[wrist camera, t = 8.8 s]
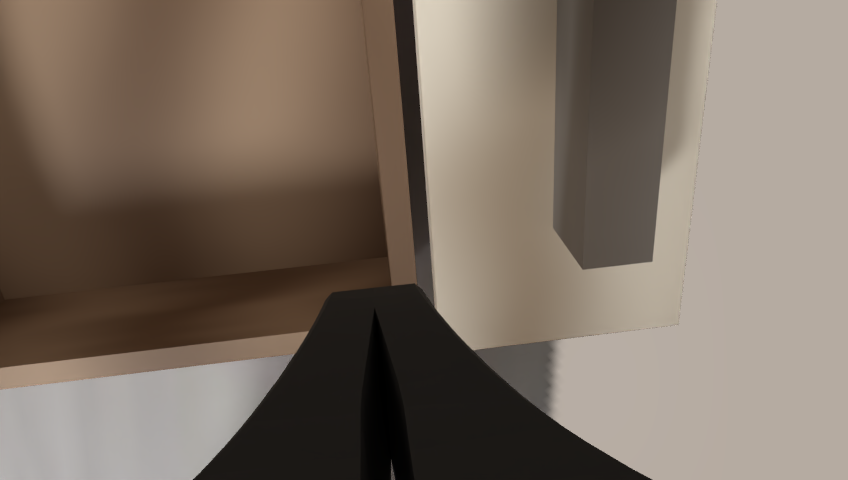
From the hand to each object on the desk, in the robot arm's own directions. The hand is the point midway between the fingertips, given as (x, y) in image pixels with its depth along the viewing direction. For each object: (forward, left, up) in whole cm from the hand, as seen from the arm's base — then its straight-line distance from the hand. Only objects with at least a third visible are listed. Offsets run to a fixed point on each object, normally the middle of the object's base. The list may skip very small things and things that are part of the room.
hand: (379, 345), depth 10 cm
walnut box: (+5, +2, -9) cm, 11 cm away
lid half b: (-2, -4, -5) cm, 7 cm away
